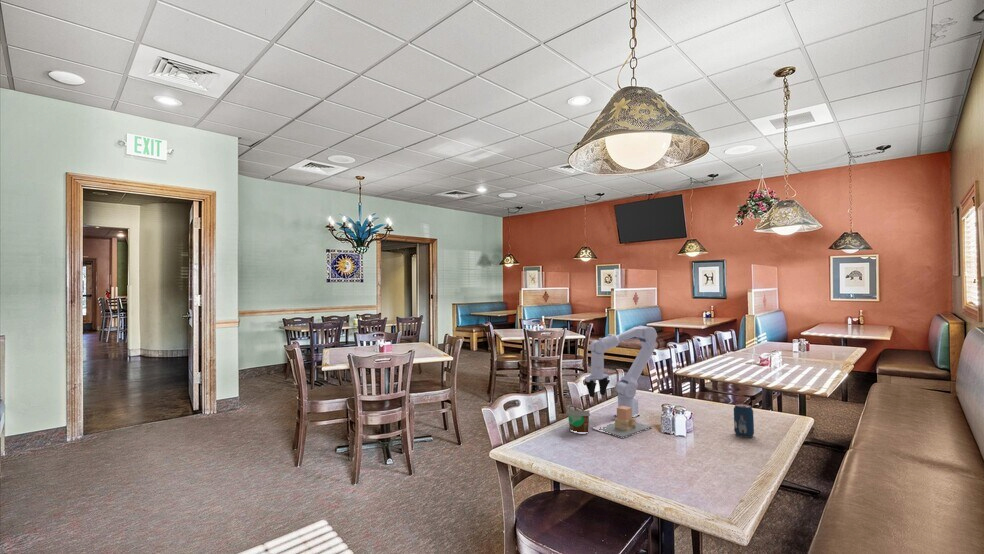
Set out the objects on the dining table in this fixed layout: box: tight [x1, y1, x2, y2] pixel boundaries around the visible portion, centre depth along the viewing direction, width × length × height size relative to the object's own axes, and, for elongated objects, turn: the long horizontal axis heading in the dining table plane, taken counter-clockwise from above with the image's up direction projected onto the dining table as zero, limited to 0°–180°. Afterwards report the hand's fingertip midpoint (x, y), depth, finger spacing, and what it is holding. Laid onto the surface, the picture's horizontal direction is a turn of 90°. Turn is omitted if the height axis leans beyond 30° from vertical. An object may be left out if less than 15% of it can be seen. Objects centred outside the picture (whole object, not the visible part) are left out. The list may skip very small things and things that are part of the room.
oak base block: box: [614, 417, 637, 431], centre depth 188 cm, size 6×6×4 cm
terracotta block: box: [616, 406, 632, 420], centre depth 189 cm, size 4×4×4 cm
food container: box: [566, 403, 591, 433], centre depth 187 cm, size 12×6×10 cm, turn 25°
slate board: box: [599, 422, 652, 439], centre depth 190 cm, size 20×16×1 cm
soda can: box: [733, 403, 755, 438], centre depth 179 cm, size 7×7×12 cm
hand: (597, 395), depth 206 cm, fingers open, 7 cm apart
